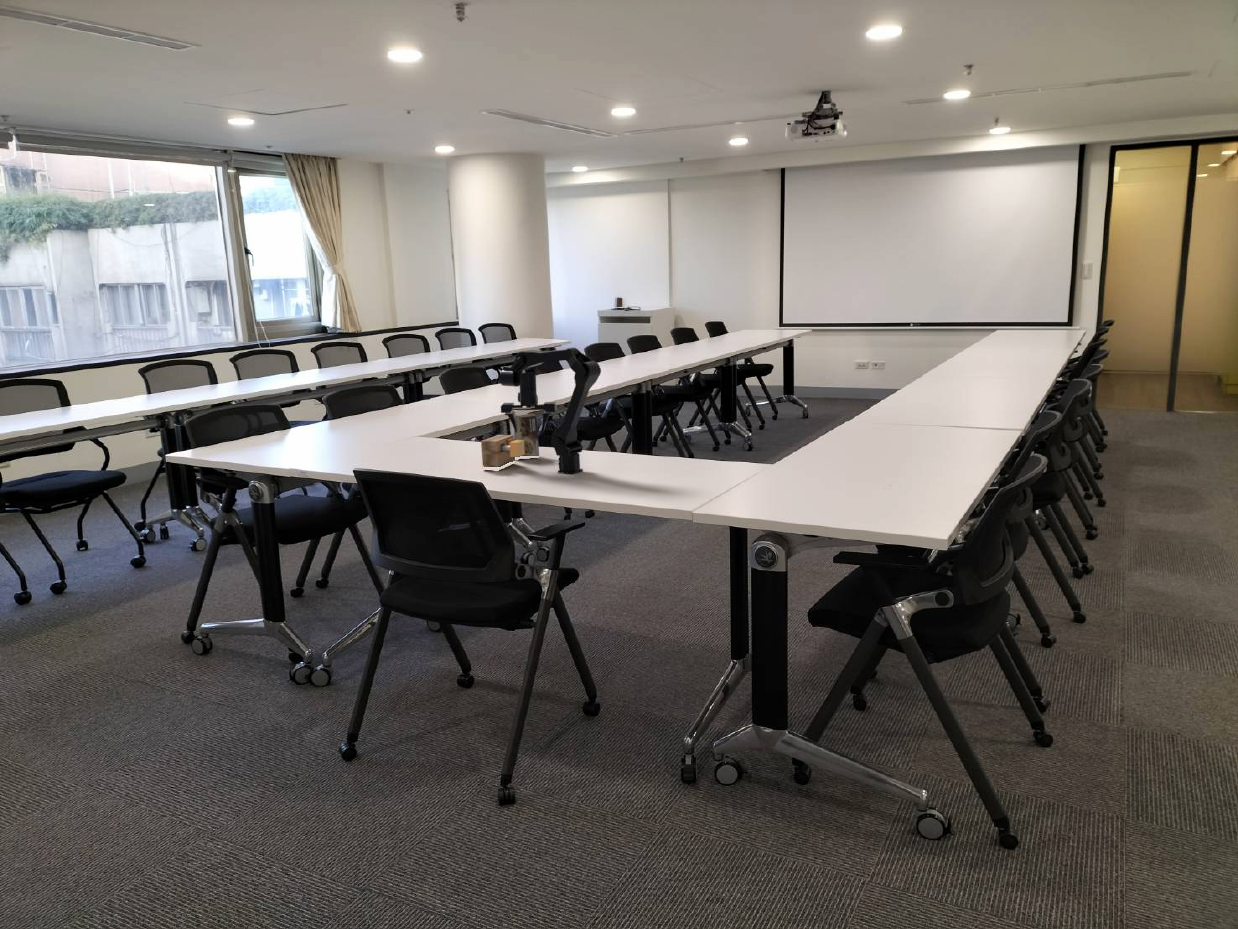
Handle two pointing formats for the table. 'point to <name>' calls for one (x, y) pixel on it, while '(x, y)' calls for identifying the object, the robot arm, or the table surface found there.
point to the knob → (515, 448)
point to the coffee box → (527, 433)
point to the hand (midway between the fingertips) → (529, 432)
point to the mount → (496, 451)
